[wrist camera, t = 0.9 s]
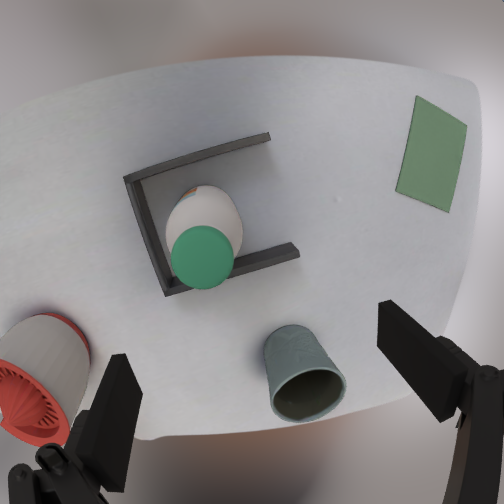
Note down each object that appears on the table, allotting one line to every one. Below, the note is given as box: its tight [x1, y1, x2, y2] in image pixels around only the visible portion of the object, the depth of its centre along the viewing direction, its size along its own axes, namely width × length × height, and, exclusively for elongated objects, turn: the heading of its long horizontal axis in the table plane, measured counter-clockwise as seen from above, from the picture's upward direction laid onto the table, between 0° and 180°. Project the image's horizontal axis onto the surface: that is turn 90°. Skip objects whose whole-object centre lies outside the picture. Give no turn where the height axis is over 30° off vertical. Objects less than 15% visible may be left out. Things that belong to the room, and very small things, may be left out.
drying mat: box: [396, 96, 467, 212], centre depth 43 cm, size 16×12×1 cm
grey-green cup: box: [264, 325, 346, 423], centre depth 43 cm, size 10×10×12 cm
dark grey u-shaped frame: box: [123, 132, 300, 297], centre depth 39 cm, size 18×16×5 cm
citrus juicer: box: [0, 313, 90, 447], centre depth 34 cm, size 16×17×20 cm
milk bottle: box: [166, 185, 243, 289], centre depth 32 cm, size 8×8×20 cm
